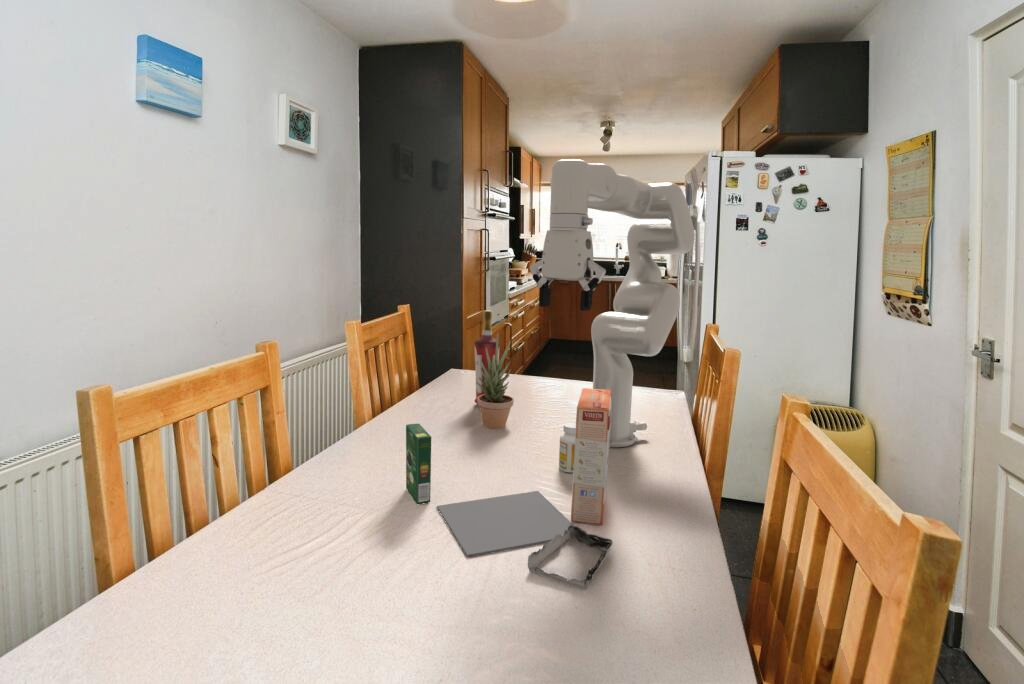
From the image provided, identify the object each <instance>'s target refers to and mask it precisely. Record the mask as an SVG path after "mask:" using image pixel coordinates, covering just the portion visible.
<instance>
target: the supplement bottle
mask: <svg viewBox="0 0 1024 684" xmlns="http://www.w3.org/2000/svg"><path fill="white" fill-rule="evenodd" d="M575 431H576V422H566V423H564V424H563V432H562V433H561V434H560V436H559V453H558V454H559V455H558V468H559V469H560V471H562V472H564V473H571V474H573V469H574V450H575Z"/></svg>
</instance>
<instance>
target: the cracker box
mask: <svg viewBox="0 0 1024 684" xmlns="http://www.w3.org/2000/svg"><path fill="white" fill-rule="evenodd" d="M575 417H576V419H575V423H576V431H575V450H574V469H573V473H572V489H571V490H572V492H571V495H572V496H571V511H570V522H571V523H579V524H580V523H582V524H588V525H597V526H603V523H604V514H605V506H606V496H607V494H606V493H607V483H608V468H609V467H608V466H609V458H610V457H609V455H610V454H609V453H610V447H609V443H610V426H611V391H610V390H604V389H593V388H587V387H586V388H585V387H584V388H582V389H581V392H580V395H579V399H578V402H577V406H576V416H575Z"/></svg>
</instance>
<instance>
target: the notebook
mask: <svg viewBox="0 0 1024 684" xmlns="http://www.w3.org/2000/svg"><path fill="white" fill-rule="evenodd" d="M436 508H438V509H437V510H438V511H440V512H439V514H440V513H441V514H442V515H441V514H440V515H441V517H442V516H443V517H442V519H443V518H444V519H443V520H444V522H445V521H446V522H445V523H446V526H449V527H448V528H449V530H450V531H452V532H451V533H452V535H453V537H454V538H455V540H456V539H457V540H456V541H457V542H459V543H458V545H459V544H460V545H459V546H460V548H461V547H462V548H461V550H462V551H463V552H465V553H464V554H465V556H466V555H467V556H466V558H471V556H472V557H476V556H477V555H478V556H482V555H488V554H493V553H492V552H494V553H499V552H503V551H504V552H505V551H509V550H515V549H519V547H521V548H525V546H526V547H531V546H536V544H537V545H541V544H545V543H547V542H550V541H551V540H552V538H554V537H555V536H556V535H557V534H561V536H563V534H564V533H565V530H567V528H568V526H569V525H574V524H573V522H571V520H569V519H568V518H567V517H566V516H565V515H564V514H563V513H562V512H561V511H560V510H559V509H558V508H556V506H555V505H554V504H553V503H552V502H550V501H549V500H548V499H547V498H546V497H545V496H544V495H543V494H542V493H541V492H540V491H539V490H535V491H529V492H528V491H527V492H521V493H520V492H519V493H514V494H508V495H501V496H500V495H499V496H495V497H488V498H481V499H474V500H467V501H460V502H453V503H447V504H441V505H437V506H436ZM569 537H570V536H569ZM514 548H515V549H514Z"/></svg>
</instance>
